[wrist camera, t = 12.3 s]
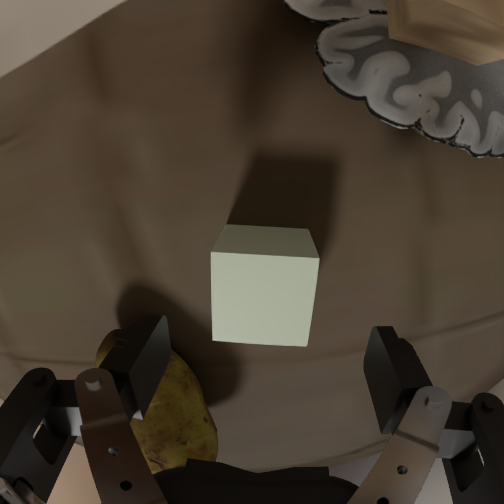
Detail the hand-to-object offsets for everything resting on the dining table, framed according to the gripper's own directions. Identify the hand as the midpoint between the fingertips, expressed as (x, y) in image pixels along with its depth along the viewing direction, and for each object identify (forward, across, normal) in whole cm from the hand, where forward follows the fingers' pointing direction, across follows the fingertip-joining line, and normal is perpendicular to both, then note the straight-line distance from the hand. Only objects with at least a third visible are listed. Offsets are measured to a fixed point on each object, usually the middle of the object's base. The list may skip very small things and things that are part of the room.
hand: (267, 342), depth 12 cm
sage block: (+9, 0, 0) cm, 9 cm away
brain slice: (+10, -9, -17) cm, 21 cm away
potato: (+9, +8, +11) cm, 16 cm away
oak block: (+6, -9, -17) cm, 20 cm away
